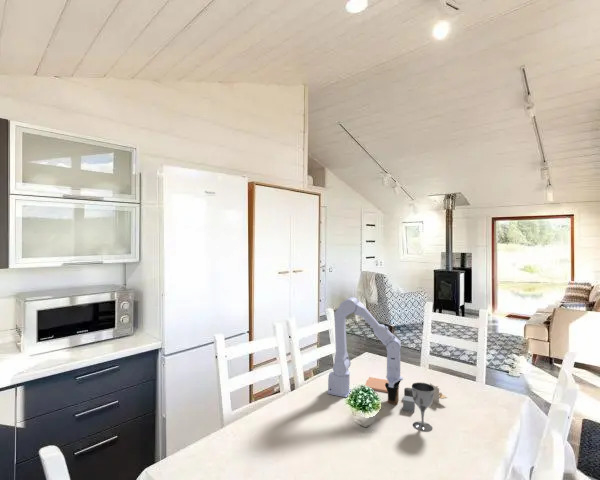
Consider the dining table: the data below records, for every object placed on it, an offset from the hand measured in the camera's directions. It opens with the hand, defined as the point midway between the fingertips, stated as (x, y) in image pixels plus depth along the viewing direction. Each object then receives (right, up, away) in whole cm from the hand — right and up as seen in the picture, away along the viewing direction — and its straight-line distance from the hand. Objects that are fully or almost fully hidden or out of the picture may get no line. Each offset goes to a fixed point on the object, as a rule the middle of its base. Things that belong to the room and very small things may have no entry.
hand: (393, 397), depth 150 cm
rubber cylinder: (+8, -2, +3) cm, 9 cm away
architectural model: (+19, -3, +1) cm, 19 cm away
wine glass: (+6, -2, -20) cm, 21 cm away
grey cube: (+5, -2, -6) cm, 8 cm away
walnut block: (0, -2, 0) cm, 2 cm away
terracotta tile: (-2, -2, +16) cm, 16 cm away
